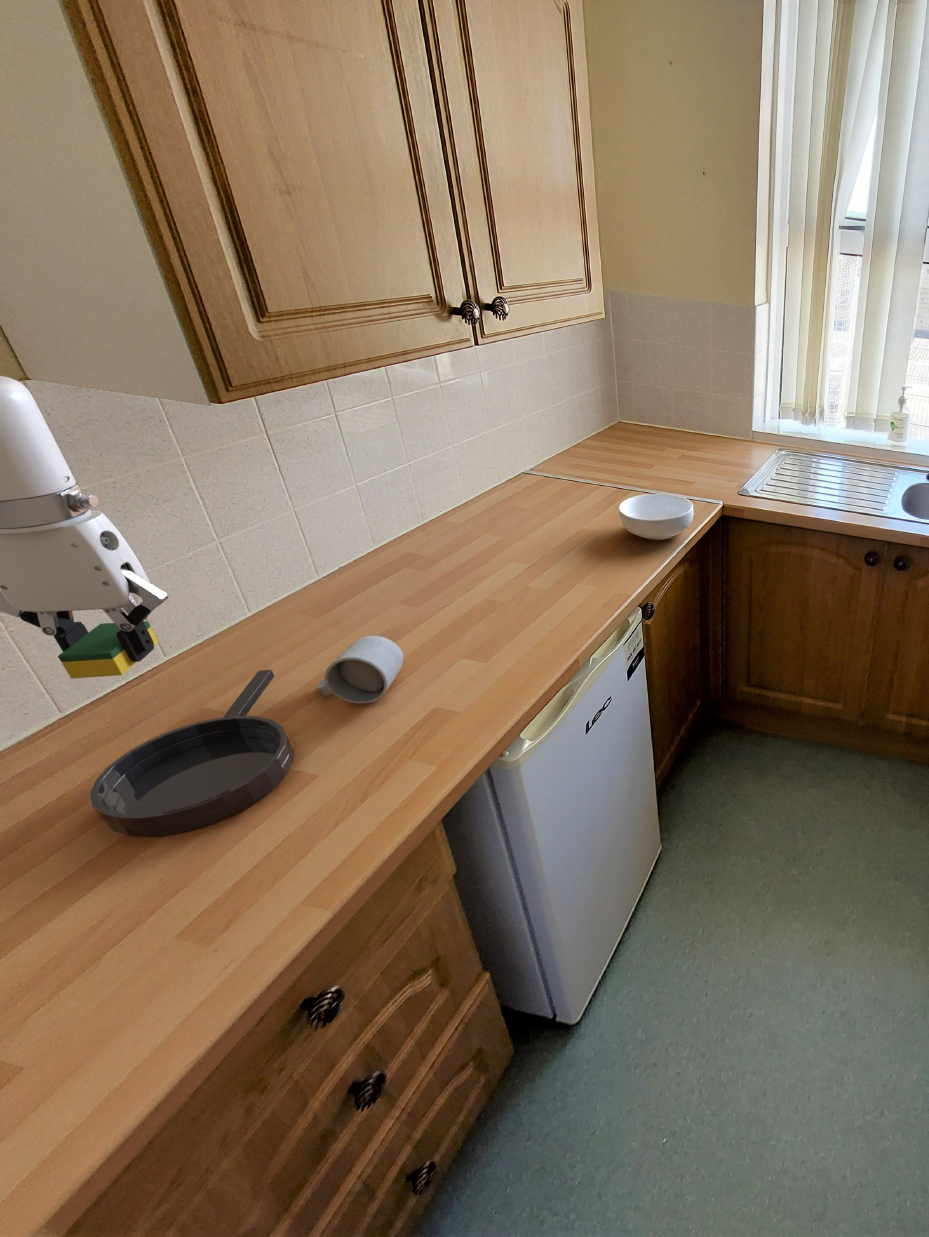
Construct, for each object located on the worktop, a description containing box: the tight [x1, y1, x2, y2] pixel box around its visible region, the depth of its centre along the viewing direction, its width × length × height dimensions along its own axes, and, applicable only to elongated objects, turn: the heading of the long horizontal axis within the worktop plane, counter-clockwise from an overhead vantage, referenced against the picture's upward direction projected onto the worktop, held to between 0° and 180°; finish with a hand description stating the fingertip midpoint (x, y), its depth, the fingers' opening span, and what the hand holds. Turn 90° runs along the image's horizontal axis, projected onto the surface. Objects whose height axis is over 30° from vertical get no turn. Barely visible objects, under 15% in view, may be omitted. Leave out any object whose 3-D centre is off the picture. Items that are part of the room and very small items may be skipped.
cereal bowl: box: [618, 493, 694, 541], centre depth 150 cm, size 17×17×7 cm
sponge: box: [57, 620, 159, 680], centre depth 73 cm, size 4×7×3 cm, turn 16°
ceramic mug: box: [316, 634, 404, 705], centre depth 93 cm, size 11×8×8 cm
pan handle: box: [222, 669, 275, 717], centre depth 88 cm, size 2×11×1 cm, turn 17°
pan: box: [89, 715, 295, 838], centre depth 77 cm, size 17×17×4 cm
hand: (114, 655), depth 74 cm, fingers closed on sponge, 4 cm apart
